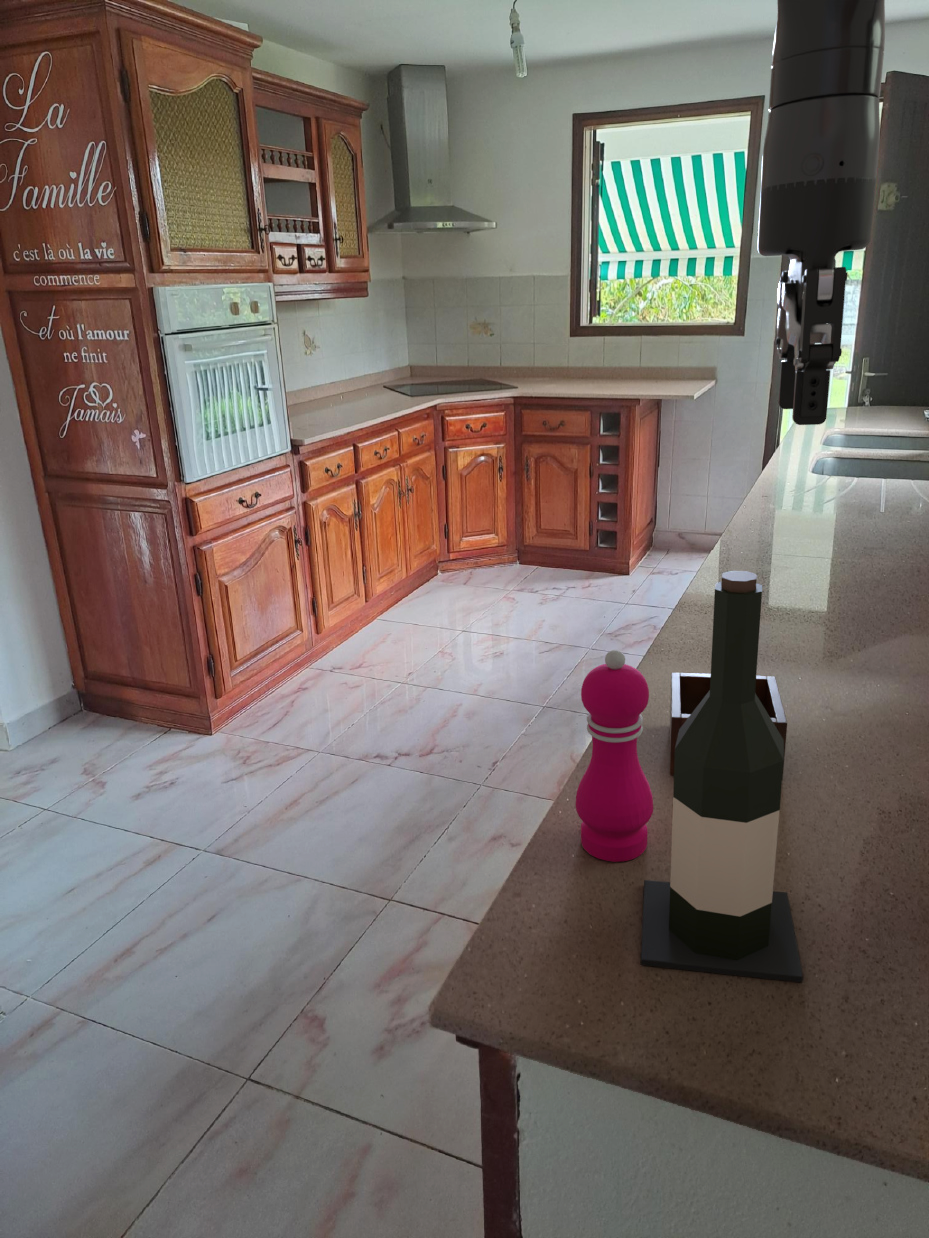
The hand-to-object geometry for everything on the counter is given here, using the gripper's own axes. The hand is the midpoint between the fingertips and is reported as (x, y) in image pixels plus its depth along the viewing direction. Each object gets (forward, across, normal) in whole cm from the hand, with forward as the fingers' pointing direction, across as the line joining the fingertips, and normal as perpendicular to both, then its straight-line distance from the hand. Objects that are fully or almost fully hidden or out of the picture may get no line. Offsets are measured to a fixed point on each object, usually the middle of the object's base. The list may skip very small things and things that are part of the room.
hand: (800, 415), depth 67 cm
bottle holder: (+40, +19, +3) cm, 44 cm away
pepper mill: (+40, 0, +14) cm, 42 cm away
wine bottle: (+40, -11, +5) cm, 41 cm away
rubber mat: (+40, -11, +5) cm, 42 cm away
